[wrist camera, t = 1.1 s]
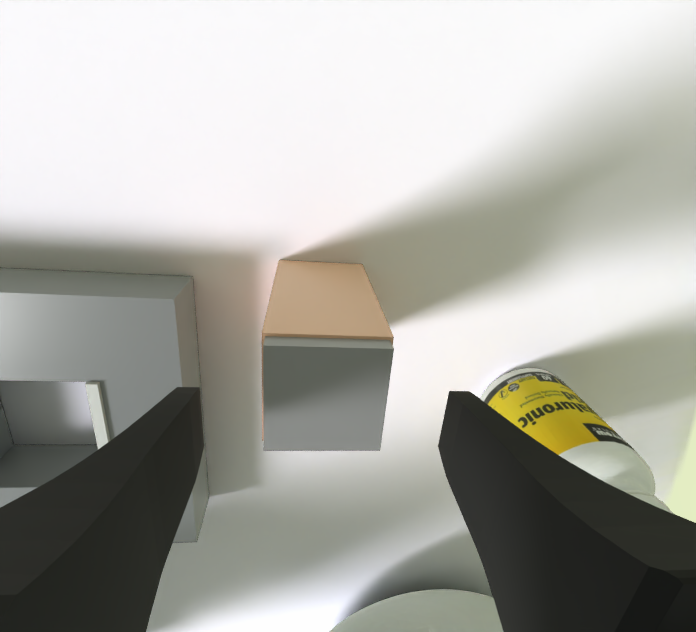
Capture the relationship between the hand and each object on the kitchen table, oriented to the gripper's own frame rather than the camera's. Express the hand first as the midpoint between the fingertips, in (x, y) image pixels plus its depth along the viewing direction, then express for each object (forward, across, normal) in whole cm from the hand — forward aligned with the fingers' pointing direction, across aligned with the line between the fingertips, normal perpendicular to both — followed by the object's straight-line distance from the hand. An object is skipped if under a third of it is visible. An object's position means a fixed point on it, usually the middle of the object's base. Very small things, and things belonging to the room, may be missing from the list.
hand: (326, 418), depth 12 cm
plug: (+9, 0, 0) cm, 9 cm away
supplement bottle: (+10, -12, +6) cm, 16 cm away
